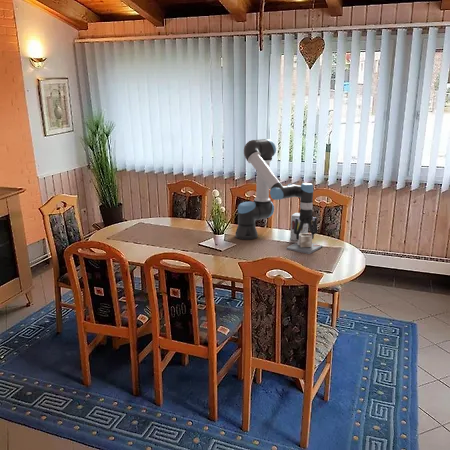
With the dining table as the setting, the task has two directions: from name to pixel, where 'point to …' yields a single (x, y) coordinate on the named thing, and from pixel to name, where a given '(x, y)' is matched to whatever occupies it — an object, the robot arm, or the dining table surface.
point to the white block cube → (305, 240)
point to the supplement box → (304, 227)
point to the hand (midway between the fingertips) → (304, 244)
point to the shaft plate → (304, 248)
